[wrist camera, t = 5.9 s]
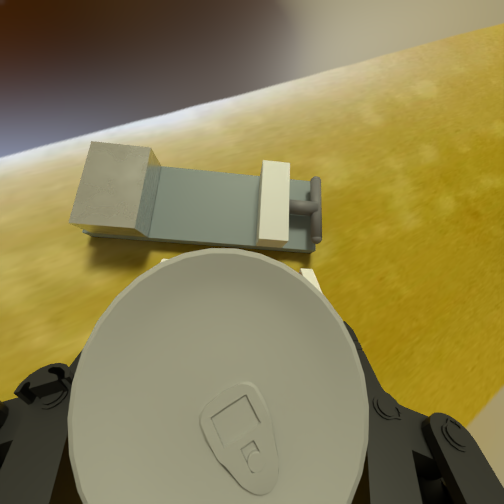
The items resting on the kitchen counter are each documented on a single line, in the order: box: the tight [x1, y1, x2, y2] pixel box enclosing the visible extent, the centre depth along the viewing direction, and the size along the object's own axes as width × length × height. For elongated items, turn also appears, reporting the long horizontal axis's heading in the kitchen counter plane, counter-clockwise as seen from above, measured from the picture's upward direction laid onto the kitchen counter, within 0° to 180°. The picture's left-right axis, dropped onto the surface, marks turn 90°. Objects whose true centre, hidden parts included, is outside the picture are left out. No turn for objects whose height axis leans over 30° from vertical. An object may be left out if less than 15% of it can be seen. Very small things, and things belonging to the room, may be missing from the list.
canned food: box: [67, 248, 369, 504], centre depth 10 cm, size 8×8×11 cm
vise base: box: [83, 160, 322, 253], centre depth 23 cm, size 26×9×4 cm, turn 86°
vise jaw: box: [69, 141, 161, 237], centre depth 21 cm, size 6×9×3 cm, turn 176°
